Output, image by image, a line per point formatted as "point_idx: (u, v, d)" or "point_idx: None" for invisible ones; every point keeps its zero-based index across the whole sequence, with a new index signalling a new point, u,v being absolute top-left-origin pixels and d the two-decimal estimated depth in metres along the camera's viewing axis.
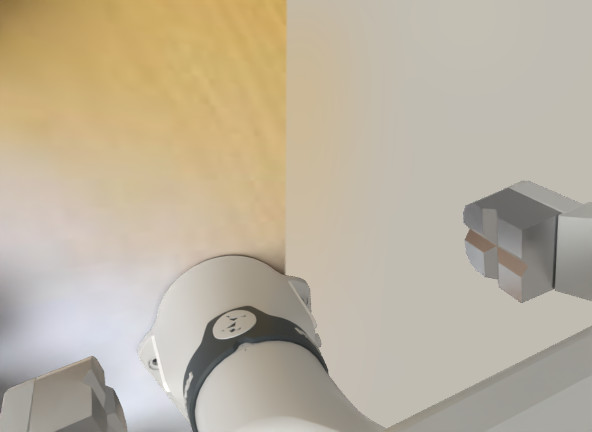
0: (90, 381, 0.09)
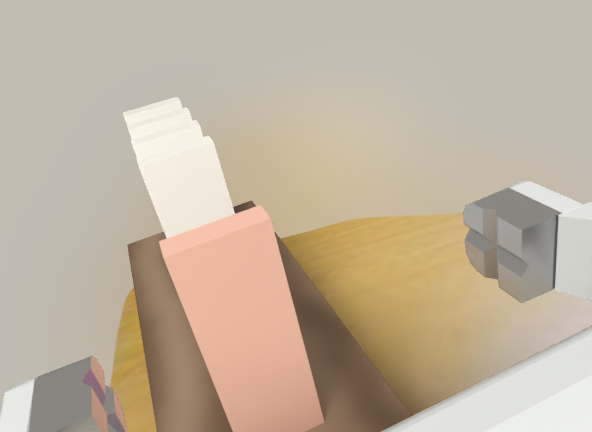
0: (90, 381, 0.09)
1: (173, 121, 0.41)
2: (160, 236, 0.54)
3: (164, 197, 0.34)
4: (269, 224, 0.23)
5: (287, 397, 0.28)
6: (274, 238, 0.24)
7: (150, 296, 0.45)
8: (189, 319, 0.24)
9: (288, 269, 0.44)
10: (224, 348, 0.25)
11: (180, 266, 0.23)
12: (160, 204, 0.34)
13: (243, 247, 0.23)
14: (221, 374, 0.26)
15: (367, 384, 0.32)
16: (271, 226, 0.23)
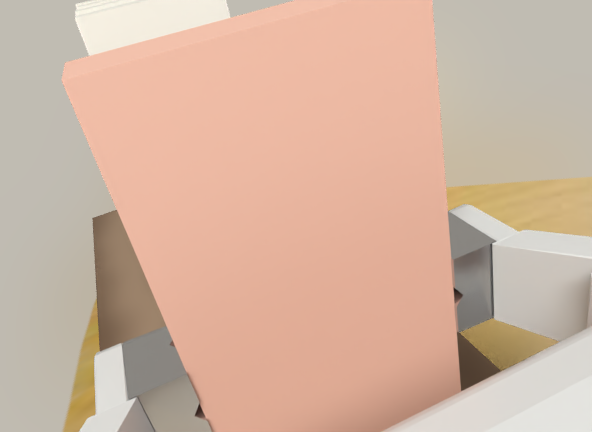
0: None
1: None
2: None
3: None
4: (424, 2, 0.07)
5: None
6: (432, 57, 0.08)
7: (119, 287, 0.29)
8: (166, 314, 0.08)
9: None
10: (268, 395, 0.09)
11: (129, 124, 0.06)
12: None
13: (340, 77, 0.07)
14: None
15: None
16: (428, 11, 0.07)
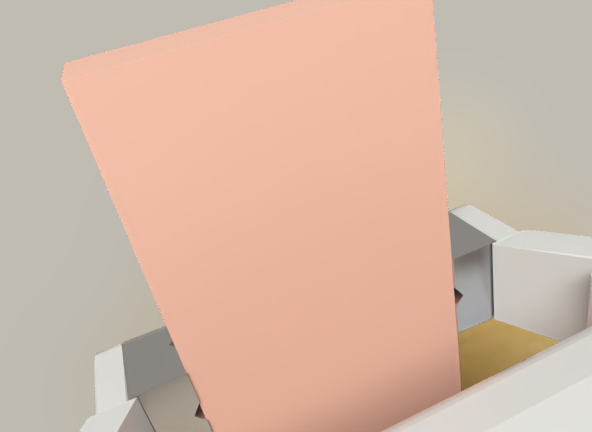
0: None
1: None
2: None
3: None
4: (424, 2, 0.07)
5: None
6: (432, 57, 0.08)
7: None
8: (166, 315, 0.08)
9: None
10: (268, 396, 0.09)
11: (129, 125, 0.06)
12: None
13: (340, 77, 0.07)
14: None
15: None
16: (429, 11, 0.07)
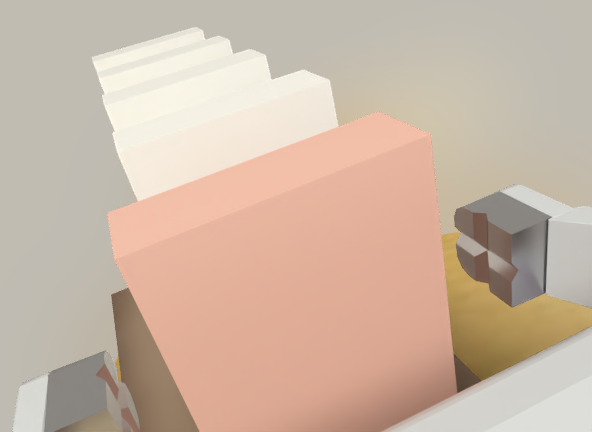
0: (104, 375, 0.09)
1: (195, 61, 0.19)
2: None
3: None
4: (425, 153, 0.08)
5: None
6: (433, 195, 0.08)
7: (154, 412, 0.23)
8: (202, 428, 0.09)
9: None
10: None
11: (171, 284, 0.07)
12: None
13: (352, 222, 0.08)
14: None
15: None
16: (429, 160, 0.08)
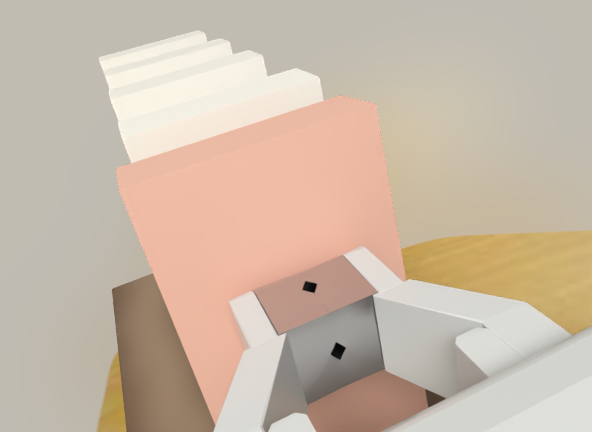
0: None
1: (197, 61, 0.20)
2: None
3: None
4: (372, 119, 0.10)
5: None
6: (381, 156, 0.10)
7: (151, 399, 0.24)
8: (188, 351, 0.10)
9: None
10: None
11: (163, 216, 0.09)
12: None
13: (313, 174, 0.10)
14: None
15: None
16: (376, 125, 0.10)
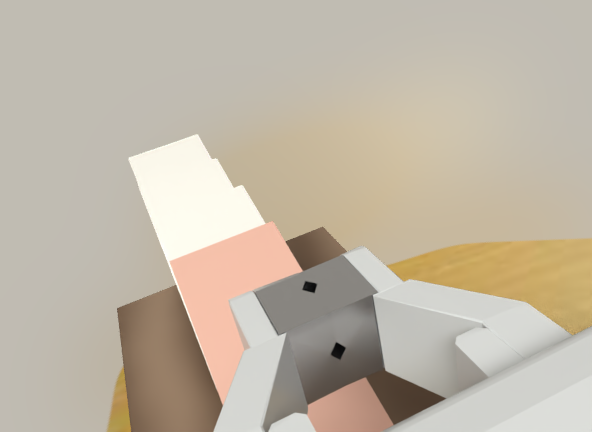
0: None
1: (179, 144, 0.36)
2: (174, 294, 0.31)
3: (183, 247, 0.25)
4: (272, 226, 0.24)
5: None
6: (280, 237, 0.23)
7: None
8: (194, 323, 0.20)
9: None
10: None
11: (185, 268, 0.22)
12: (177, 254, 0.25)
13: (249, 247, 0.23)
14: None
15: None
16: (275, 227, 0.24)
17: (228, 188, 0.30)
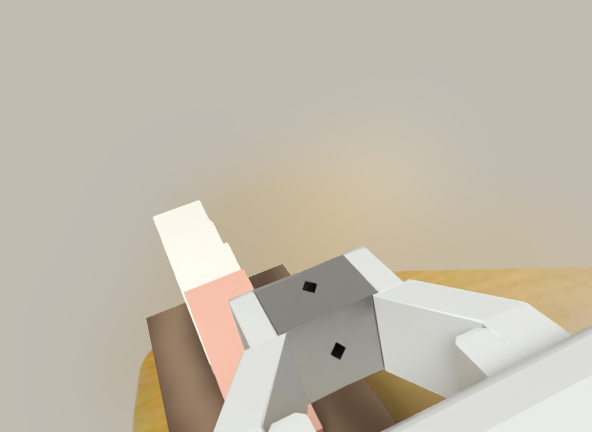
0: None
1: (187, 207, 0.53)
2: (183, 309, 0.48)
3: (191, 282, 0.42)
4: (243, 271, 0.41)
5: None
6: (247, 278, 0.40)
7: (178, 392, 0.39)
8: (198, 327, 0.38)
9: None
10: (222, 348, 0.36)
11: (193, 296, 0.39)
12: (187, 287, 0.42)
13: (229, 284, 0.40)
14: (221, 370, 0.35)
15: None
16: (244, 272, 0.41)
17: (219, 242, 0.47)
